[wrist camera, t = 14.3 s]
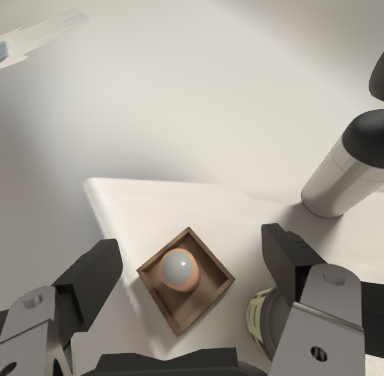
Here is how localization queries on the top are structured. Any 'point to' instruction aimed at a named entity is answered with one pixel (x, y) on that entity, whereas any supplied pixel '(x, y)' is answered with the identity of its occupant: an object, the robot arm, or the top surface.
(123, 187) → the top surface
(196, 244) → the walnut tray
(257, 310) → the coffee can
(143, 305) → the top surface
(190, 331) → the top surface
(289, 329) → the robot arm
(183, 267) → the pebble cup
